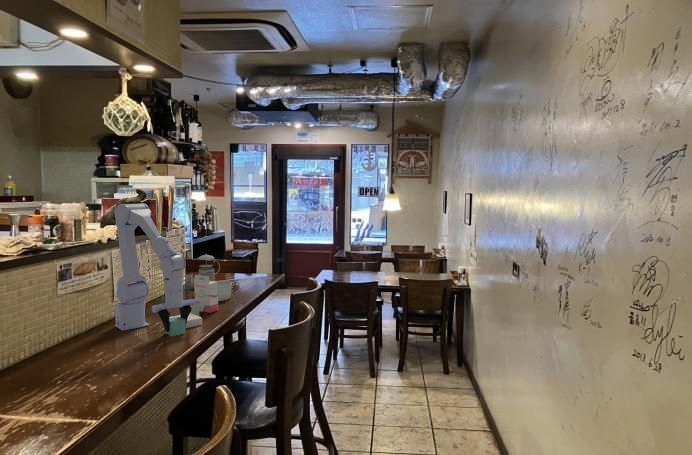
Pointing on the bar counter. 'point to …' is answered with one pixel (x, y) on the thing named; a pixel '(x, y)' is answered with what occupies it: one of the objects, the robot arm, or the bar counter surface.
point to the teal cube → (176, 326)
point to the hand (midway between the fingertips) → (175, 329)
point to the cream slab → (192, 320)
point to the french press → (207, 267)
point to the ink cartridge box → (206, 294)
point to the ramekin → (224, 290)
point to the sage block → (195, 309)
